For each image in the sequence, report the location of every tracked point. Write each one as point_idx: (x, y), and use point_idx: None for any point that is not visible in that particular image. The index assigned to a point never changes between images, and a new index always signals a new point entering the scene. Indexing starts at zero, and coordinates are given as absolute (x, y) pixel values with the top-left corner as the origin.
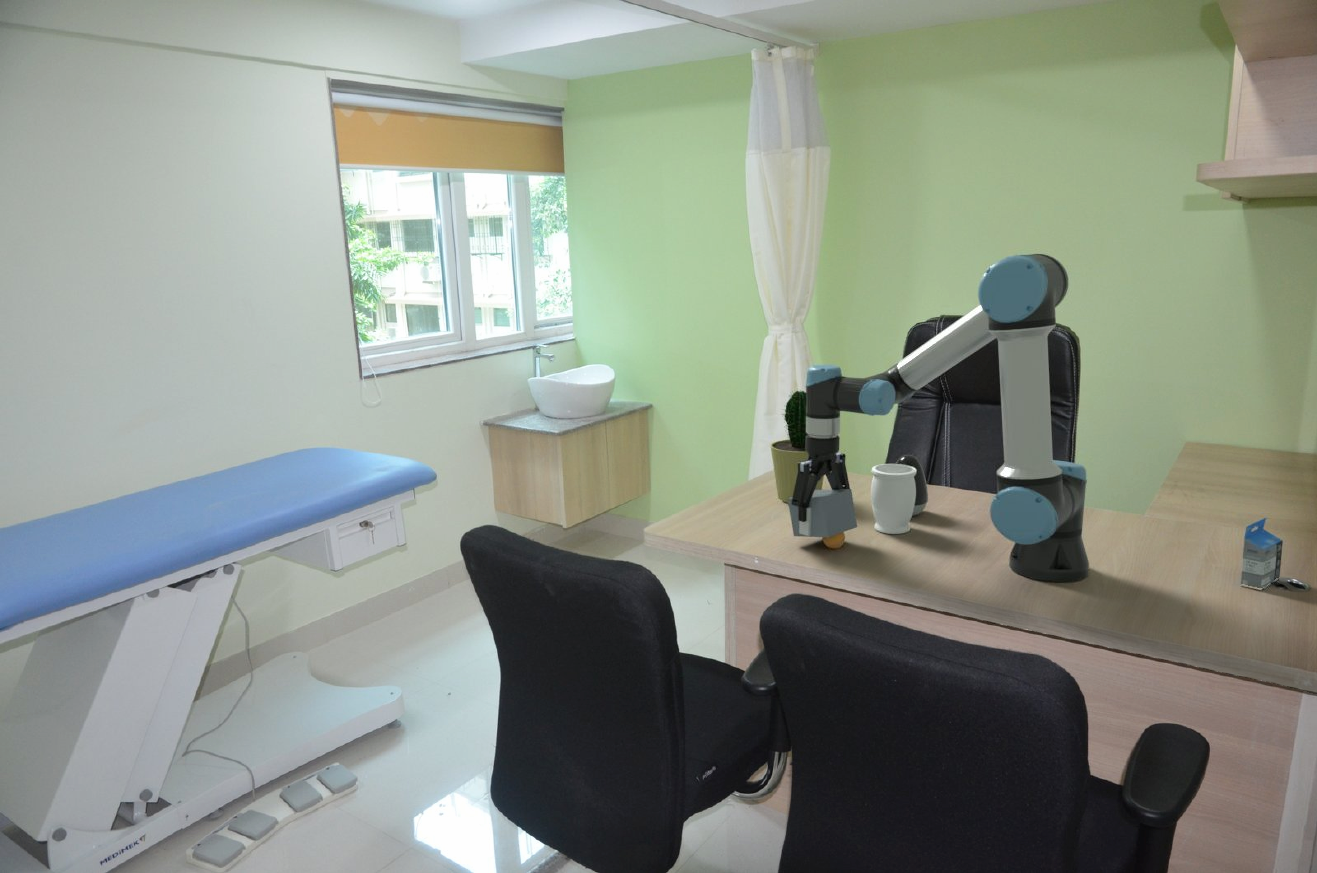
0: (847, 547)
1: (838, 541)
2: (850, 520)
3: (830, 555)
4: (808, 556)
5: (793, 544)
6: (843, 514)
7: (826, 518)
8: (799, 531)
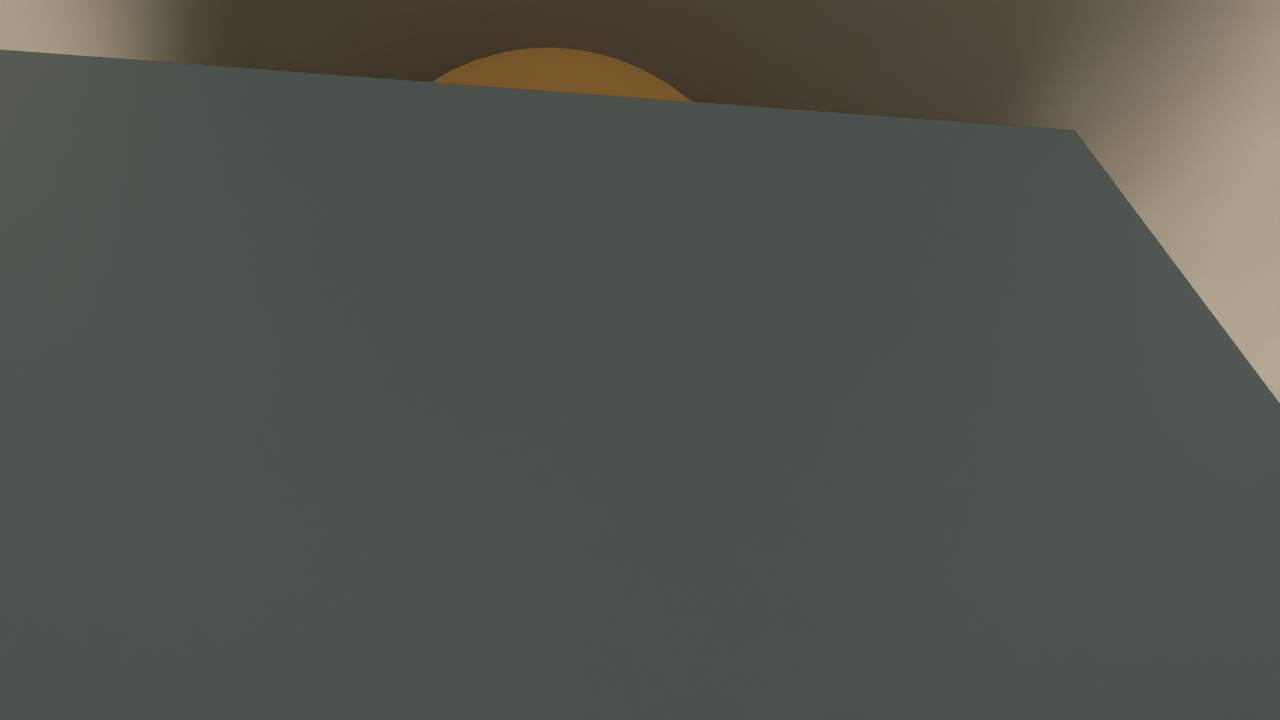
0: (369, 37)
1: (660, 80)
2: (149, 170)
3: (896, 25)
4: None
5: None
6: (380, 325)
7: (1207, 399)
8: None
